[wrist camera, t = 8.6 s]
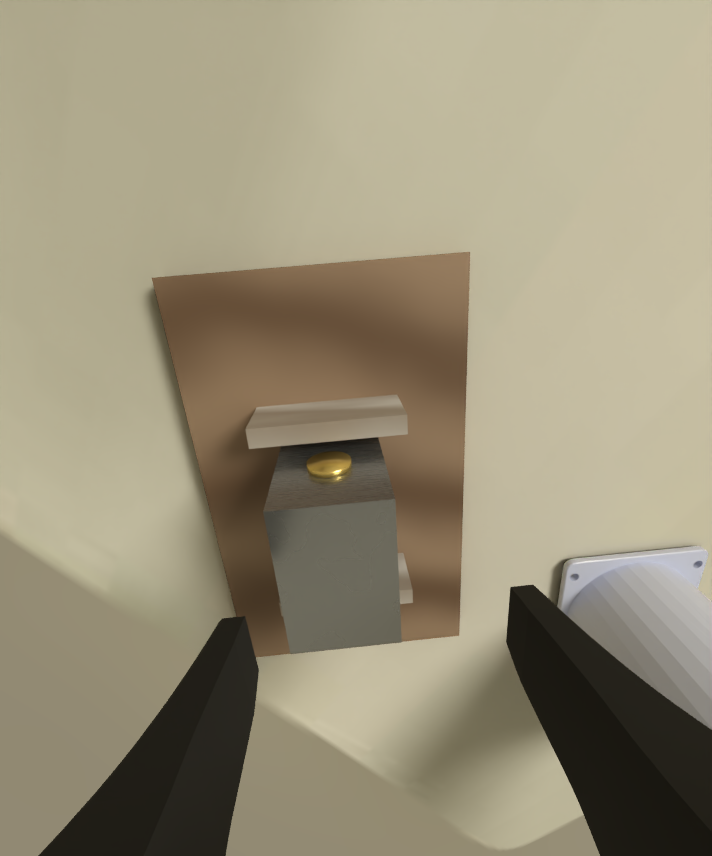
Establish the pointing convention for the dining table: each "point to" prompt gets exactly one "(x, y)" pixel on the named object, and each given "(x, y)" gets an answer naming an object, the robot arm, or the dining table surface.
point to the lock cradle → (329, 409)
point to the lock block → (334, 545)
